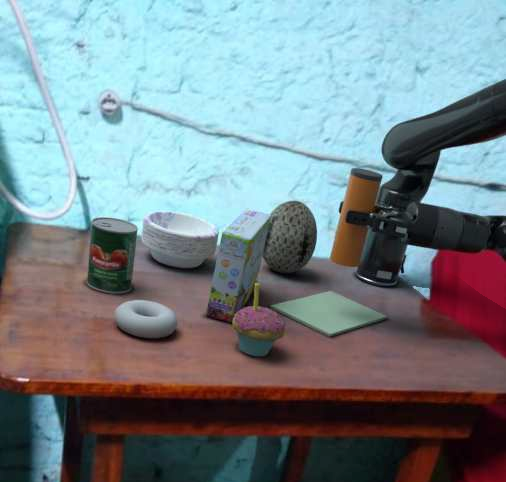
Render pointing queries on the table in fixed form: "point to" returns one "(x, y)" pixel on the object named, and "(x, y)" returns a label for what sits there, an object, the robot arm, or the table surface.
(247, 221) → the snack box
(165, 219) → the paper bowls
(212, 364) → the table surface
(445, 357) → the table surface
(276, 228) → the decorative egg
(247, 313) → the cupcake
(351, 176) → the crisps tube
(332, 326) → the placemat
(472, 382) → the table surface
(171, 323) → the donut
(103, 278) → the canned tomato
